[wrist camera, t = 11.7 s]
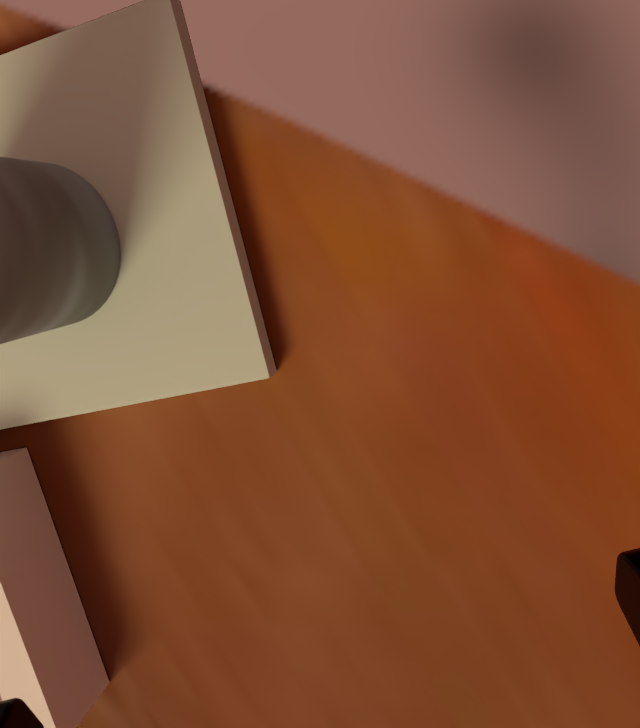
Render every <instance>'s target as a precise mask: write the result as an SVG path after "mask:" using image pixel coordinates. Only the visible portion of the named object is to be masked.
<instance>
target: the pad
mask: <svg viewBox="0 0 640 728" xmlns="http://www.w3.org/2000/svg"><path fill="white" fill-rule="evenodd" d="M0 157H7V158H15V159H22V160H30V161H38V162H45V163H51V164H56V165H59V166H62V167H65V168H67V169H69V170H71V171H74V172H75V173H77V174H78V175H80V176H81V177H83V178H84V179H85V180H86V181H87V182H89V183H90V184H91V185H92V186H93V187H94V188H95V190H96V191H97V192H98V193H99V194H100V196H101V197H102V198H103V200H104V201H105V203H106V205H107V206H108V208H109V210H110V212H111V214H112V216H113V219H114V221H115V224H116V228H117V231H118V236H119V241H120V253H121V256H120V268H119V273H118V277H117V281H116V284H115V286H114V288H113V290H112V293H111V295H110V296H109V298H108V299H107V301H106V302H105V303H104V304H103V305H102V307H101V308H100V309H99V310H98V311H96V312H95V313H94V314H93V315H91V316H90V317H88V318H86V319H84V320H82V321H80V322H77V323H74V324H70V325H67V326H63V327H60V328H56V329H53V330H49V331H45V332H42V333H38V334H35V335H31V336H28V337H24V338H21V339H17V340H14V341H10V342H7V343H3V344H0V430H1V429H6V428H11V427H16V426H21V425H27V424H32V423H37V422H42V421H48V420H53V419H58V418H63V417H69V416H74V415H79V414H84V413H89V412H95V411H100V410H105V409H110V408H116V407H121V406H126V405H131V404H137V403H142V402H147V401H152V400H157V399H163V398H168V397H173V396H178V395H184V394H189V393H194V392H199V391H204V390H210V389H215V388H220V387H225V386H231V385H236V384H241V383H246V382H252V381H257V380H262V379H267V378H270V377H271V376H272V375H274V374H275V373H276V372H277V370H276V366H275V363H274V359H273V355H272V351H271V347H270V343H269V340H268V336H267V332H266V328H265V324H264V320H263V317H262V313H261V309H260V305H259V301H258V297H257V293H256V290H255V286H254V282H253V278H252V274H251V270H250V267H249V263H248V259H247V255H246V251H245V247H244V244H243V240H242V236H241V232H240V228H239V224H238V221H237V217H236V213H235V209H234V205H233V201H232V198H231V194H230V190H229V186H228V182H227V178H226V175H225V171H224V167H223V163H222V159H221V155H220V152H219V148H218V144H217V140H216V136H215V132H214V129H213V125H212V121H211V117H210V113H209V109H208V105H207V102H206V98H205V94H204V90H203V86H202V82H201V79H200V75H199V71H198V67H197V63H196V59H195V56H194V52H193V48H192V44H191V40H190V36H189V33H188V29H187V25H186V21H185V17H184V13H183V10H182V6H181V2H180V1H179V0H144V1H141V2H138V3H136V4H133V5H130V6H128V7H125V8H123V9H120V10H117V11H115V12H112V13H110V14H107V15H104V16H102V17H100V18H97V19H94V20H91V21H89V22H86V23H84V24H81V25H78V26H76V27H73V28H70V29H68V30H65V31H63V32H60V33H57V34H55V35H52V36H50V37H47V38H44V39H42V40H39V41H37V42H34V43H31V44H29V45H26V46H24V47H21V48H18V49H16V50H13V51H10V52H8V53H5V54H3V55H0Z"/></svg>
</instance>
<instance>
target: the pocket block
mask: <svg viewBox="0 0 640 728" xmlns="http://www.w3.org/2000/svg"><path fill="white" fill-rule="evenodd" d="M108 684H109V679H108V676H107V674H106V671H105V668H104V665H103V662H102V660H101V657H100V654H99V651H98V648H97V645H96V643H95V640H94V637H93V634H92V631H91V628H90V626H89V623H88V620H87V617H86V614H85V611H84V609H83V606H82V603H81V600H80V597H79V594H78V592H77V589H76V586H75V583H74V580H73V577H72V575H71V572H70V569H69V566H68V563H67V560H66V558H65V555H64V552H63V549H62V546H61V543H60V541H59V538H58V535H57V532H56V529H55V526H54V524H53V521H52V518H51V515H50V512H49V510H48V507H47V504H46V501H45V498H44V495H43V493H42V490H41V487H40V484H39V481H38V478H37V476H36V473H35V470H34V467H33V464H32V461H31V459H30V456H29V453H28V450H27V447H26V448H21V449H15V450H10V451H4V452H0V701H4V700H8V699H12V698H19V699H22V700H23V701H24V702H25V703H26V705H27V706H28V707H29V708H30V709H31V711H32V712H33V713H34V714H35V716H36V717H37V718H38V719H39V720H40V722H41V723H42V724H43V726H44V728H77V727H78V725H79V724H80V723H81V721H82V720H83V718H84V717H85V716H86V714H87V713H88V712H89V710H90V709H91V707H92V706H93V705H94V703H95V702H96V700H97V699H98V698H99V696H100V695H101V694H102V692H103V691H104V689H105V688H106V687H107V685H108Z"/></svg>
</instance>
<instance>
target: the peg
mask: <svg viewBox="0 0 640 728" xmlns="http://www.w3.org/2000/svg"><path fill="white" fill-rule="evenodd" d="M120 256H121V253H120V241H119V236H118V231H117V228H116V224H115V221H114V219H113V216H112V214H111V212H110V210H109V208H108V206H107V205H106V203H105V201H104V200H103V198H102V197H101V196H100V194H99V193H98V192H97V191H96V190H95V188H94V187H93V186H92V185H91V184H90V183H89V182H87V181H86V180H85V179H84V178H83V177H81V176H80V175H78V174H77V173H75V172H74V171H71V170H69V169H67V168H65V167H62V166H59V165H56V164H51V163H45V162H38V161H30V160H22V159H15V158H7V157H0V344H3V343H7V342H10V341H14V340H17V339H21V338H24V337H28V336H31V335H35V334H38V333H42V332H45V331H49V330H53V329H56V328H60V327H63V326H67V325H70V324H74V323H77V322H80V321H82V320H84V319H86V318H88V317H90V316H91V315H93V314H94V313H95V312H96V311H98V310H99V309H100V308H101V307H102V305H103V304H104V303H105V302H106V301H107V299H108V298H109V296H110V295H111V293H112V290H113V288H114V286H115V284H116V281H117V277H118V273H119V268H120Z"/></svg>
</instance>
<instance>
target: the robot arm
mask: <svg viewBox="0 0 640 728" xmlns="http://www.w3.org/2000/svg"><path fill="white" fill-rule="evenodd" d="M615 594H616V598H617V601H618V603H619V605H620V607H621V610H622V612H623V614H624V616H625V618H626V620H627V622H628V624H629V626H630V628H631V630H632V632H633V634H634V636H635V638H636V640H637V642H638V644H639V646H640V548H638V549H633V550H629V551H625V552H622V553H620V554H619V556H618V557H617V565H616V578H615ZM0 728H44V726H43V724H42V723H41V722H40V720H39V719H38V718H37V717H36V716H35V714H34V713H33V712H32V711H31V709H30V708H29V707H28V706H27V705H26V703H25V702H24V701H23V700H22V699H19V698H12V699H8V700H4V701H0Z"/></svg>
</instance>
